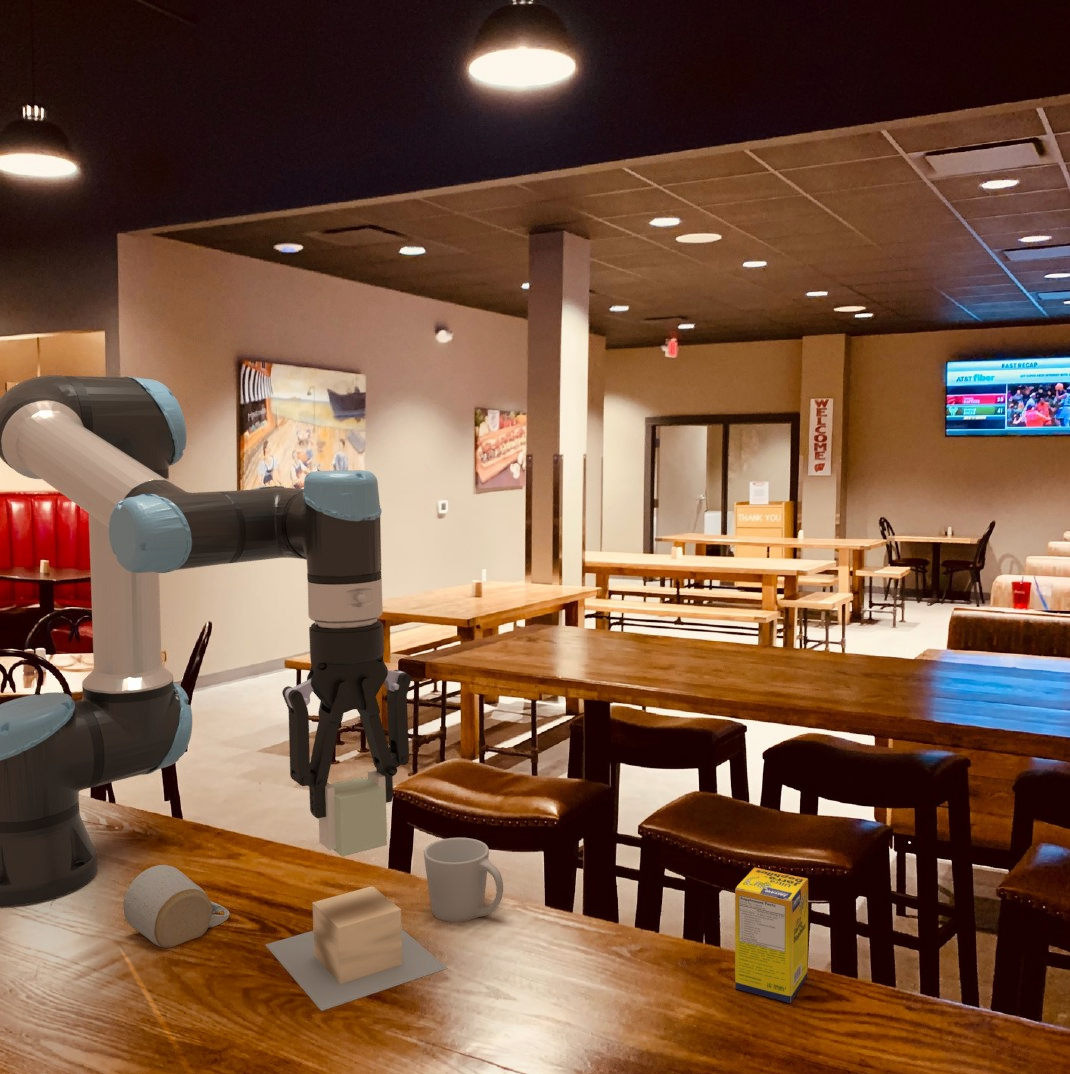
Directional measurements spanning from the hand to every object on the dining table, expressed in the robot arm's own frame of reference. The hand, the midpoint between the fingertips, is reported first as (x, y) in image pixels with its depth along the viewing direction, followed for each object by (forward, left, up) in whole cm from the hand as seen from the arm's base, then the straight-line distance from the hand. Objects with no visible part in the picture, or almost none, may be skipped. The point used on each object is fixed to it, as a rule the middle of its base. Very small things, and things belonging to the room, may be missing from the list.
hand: (353, 838), depth 110 cm
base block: (0, 0, -13) cm, 13 cm away
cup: (-3, +15, -15) cm, 21 cm away
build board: (-1, 0, -15) cm, 15 cm away
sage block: (0, 0, 0) cm, 1 cm away
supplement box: (+27, +34, -15) cm, 46 cm away
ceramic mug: (-19, -13, -15) cm, 28 cm away
